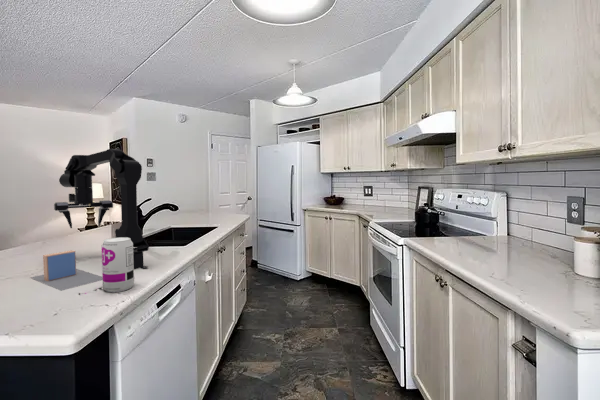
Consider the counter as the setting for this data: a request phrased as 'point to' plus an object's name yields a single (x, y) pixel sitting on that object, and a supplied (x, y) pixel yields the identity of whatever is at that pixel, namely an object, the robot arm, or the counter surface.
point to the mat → (70, 280)
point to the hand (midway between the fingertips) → (85, 226)
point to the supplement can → (117, 264)
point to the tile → (59, 265)
